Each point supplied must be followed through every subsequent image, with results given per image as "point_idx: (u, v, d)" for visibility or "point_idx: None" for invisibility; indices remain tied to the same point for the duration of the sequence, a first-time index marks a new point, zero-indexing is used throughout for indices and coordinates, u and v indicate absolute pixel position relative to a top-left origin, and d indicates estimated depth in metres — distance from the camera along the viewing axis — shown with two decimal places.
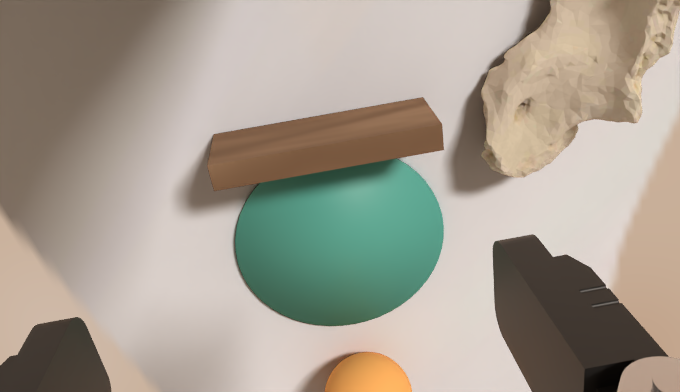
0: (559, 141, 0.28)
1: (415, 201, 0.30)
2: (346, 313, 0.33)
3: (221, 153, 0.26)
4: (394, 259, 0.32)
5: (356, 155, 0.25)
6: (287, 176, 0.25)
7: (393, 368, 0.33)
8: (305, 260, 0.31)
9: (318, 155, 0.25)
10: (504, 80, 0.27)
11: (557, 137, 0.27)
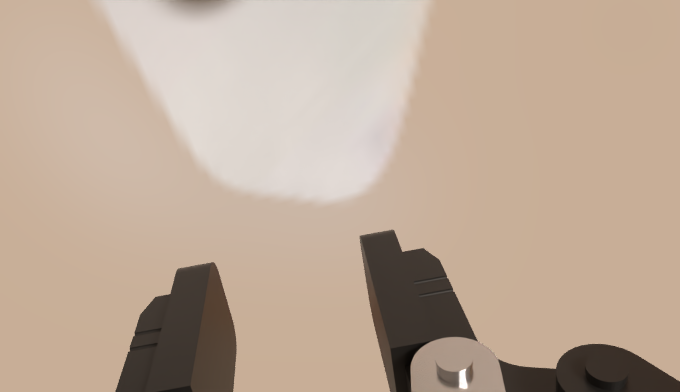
0: None
1: None
2: None
3: None
4: None
5: None
6: None
7: None
8: None
9: None
10: None
11: None
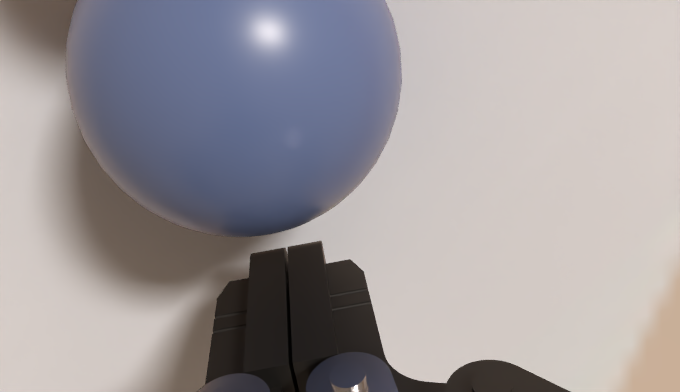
0: None
1: None
2: None
3: None
4: None
5: None
6: None
7: None
8: None
9: None
10: None
11: None
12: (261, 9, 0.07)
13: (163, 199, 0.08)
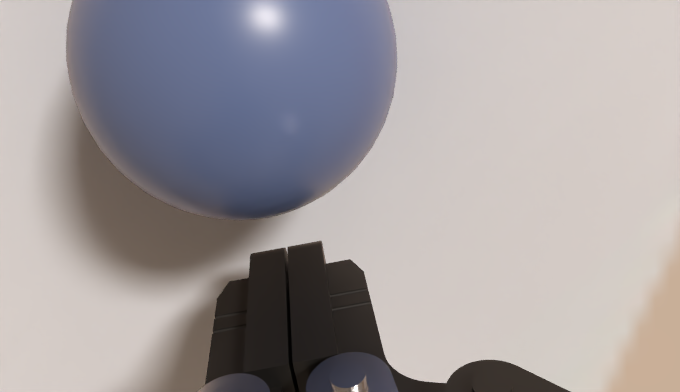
0: None
1: None
2: None
3: None
4: None
5: None
6: None
7: None
8: None
9: None
10: None
11: None
12: None
13: (162, 180, 0.08)
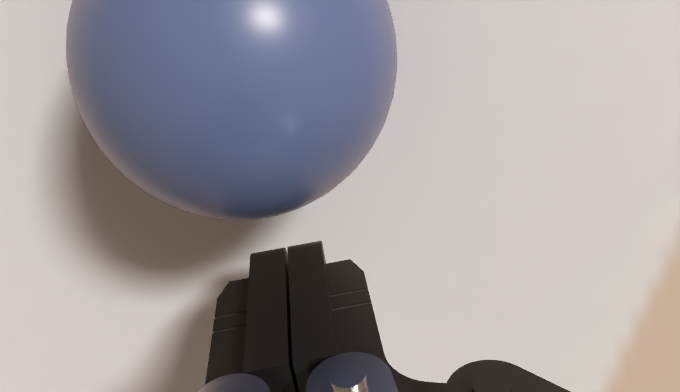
0: None
1: None
2: None
3: None
4: None
5: None
6: None
7: None
8: None
9: None
10: None
11: None
12: None
13: (162, 180, 0.08)
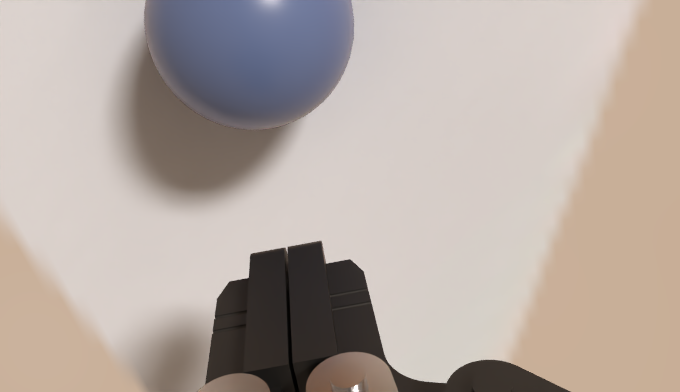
0: None
1: None
2: None
3: None
4: None
5: None
6: None
7: None
8: None
9: None
10: None
11: None
12: None
13: (205, 94, 0.13)
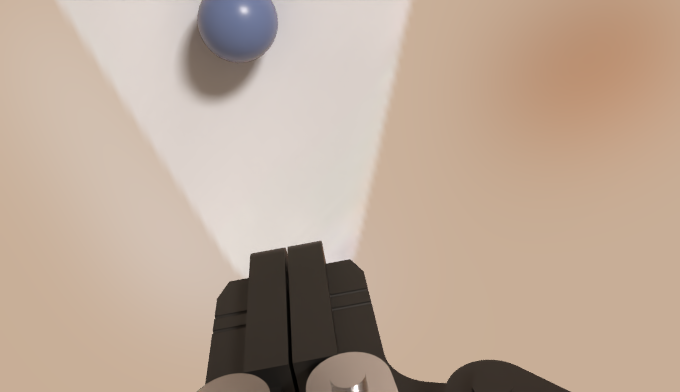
0: None
1: None
2: None
3: None
4: None
5: None
6: None
7: None
8: None
9: None
10: None
11: None
12: (241, 5, 0.35)
13: (221, 46, 0.36)
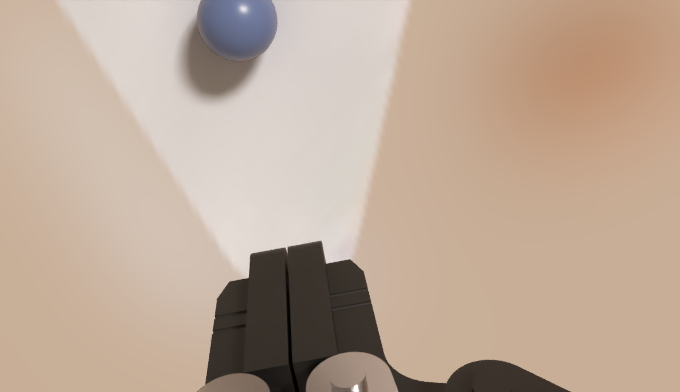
0: None
1: None
2: None
3: None
4: None
5: None
6: None
7: None
8: None
9: None
10: None
11: None
12: (241, 4, 0.35)
13: (220, 45, 0.36)
